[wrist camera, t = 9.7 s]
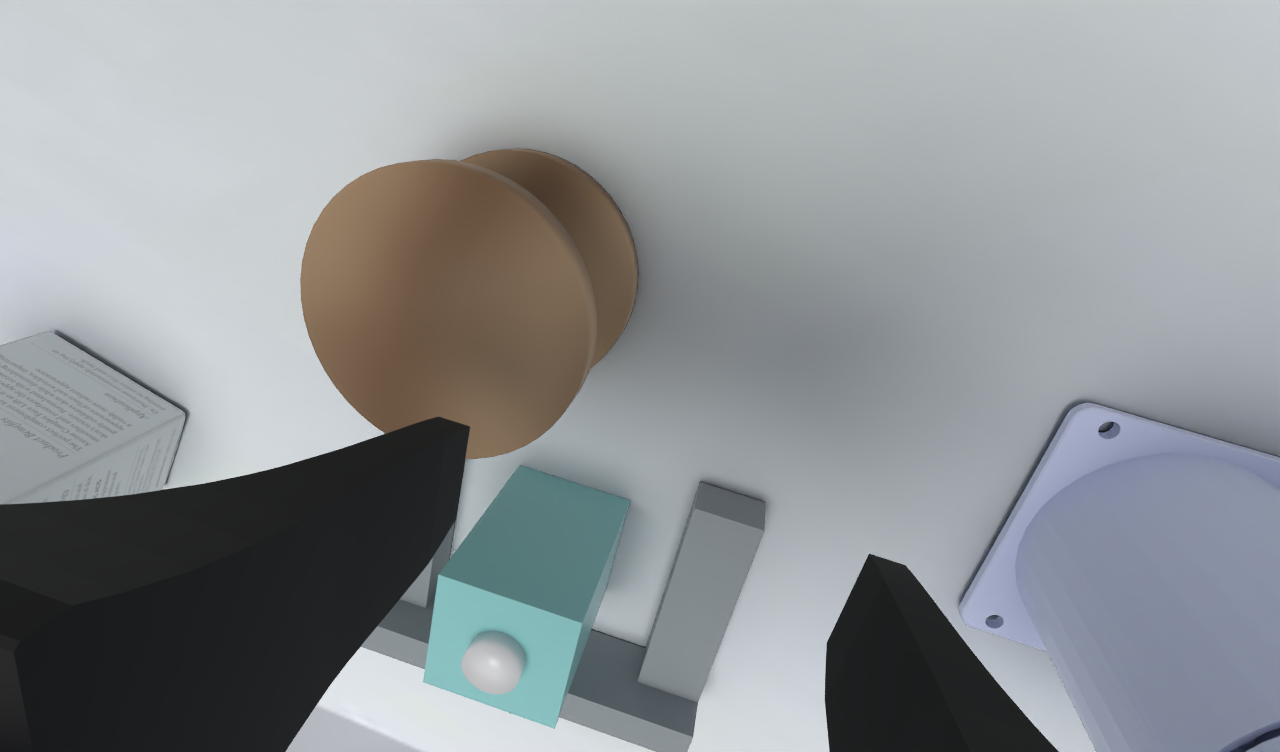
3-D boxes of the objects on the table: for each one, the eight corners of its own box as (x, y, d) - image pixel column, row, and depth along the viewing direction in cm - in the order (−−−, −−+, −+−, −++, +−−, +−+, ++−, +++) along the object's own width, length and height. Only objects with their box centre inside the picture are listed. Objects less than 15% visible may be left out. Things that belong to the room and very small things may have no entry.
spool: (663, 185, 19) (619, 212, 14) (610, 403, 21) (556, 494, 16) (432, 121, 19) (305, 123, 14) (408, 341, 22) (296, 410, 17)
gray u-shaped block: (765, 502, 22) (763, 558, 19) (694, 690, 25) (683, 761, 22) (412, 390, 23) (361, 428, 20) (390, 585, 26) (344, 640, 23)
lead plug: (630, 500, 23) (575, 639, 17) (606, 589, 24) (547, 747, 18) (519, 465, 23) (427, 589, 17) (503, 555, 25) (412, 698, 19)
